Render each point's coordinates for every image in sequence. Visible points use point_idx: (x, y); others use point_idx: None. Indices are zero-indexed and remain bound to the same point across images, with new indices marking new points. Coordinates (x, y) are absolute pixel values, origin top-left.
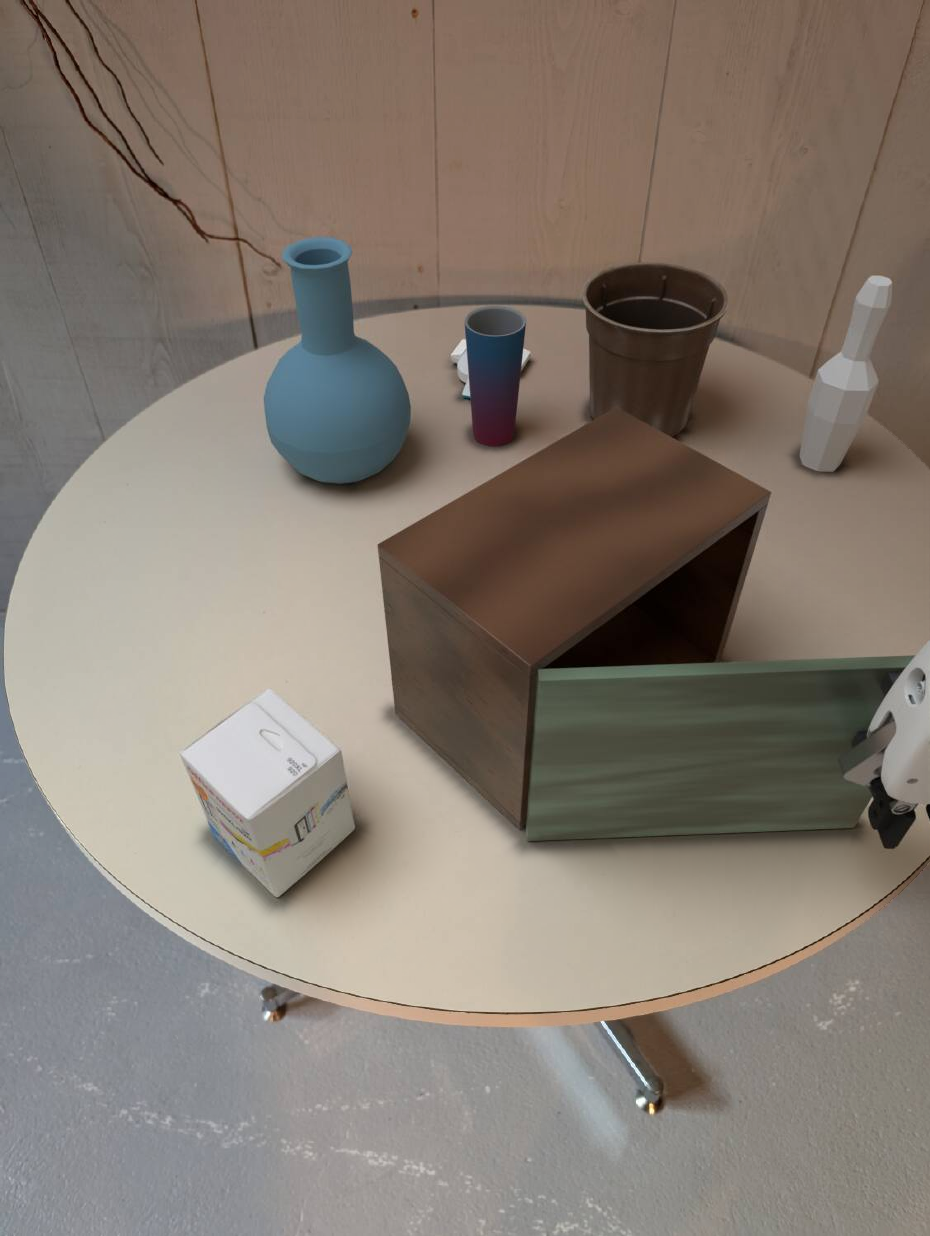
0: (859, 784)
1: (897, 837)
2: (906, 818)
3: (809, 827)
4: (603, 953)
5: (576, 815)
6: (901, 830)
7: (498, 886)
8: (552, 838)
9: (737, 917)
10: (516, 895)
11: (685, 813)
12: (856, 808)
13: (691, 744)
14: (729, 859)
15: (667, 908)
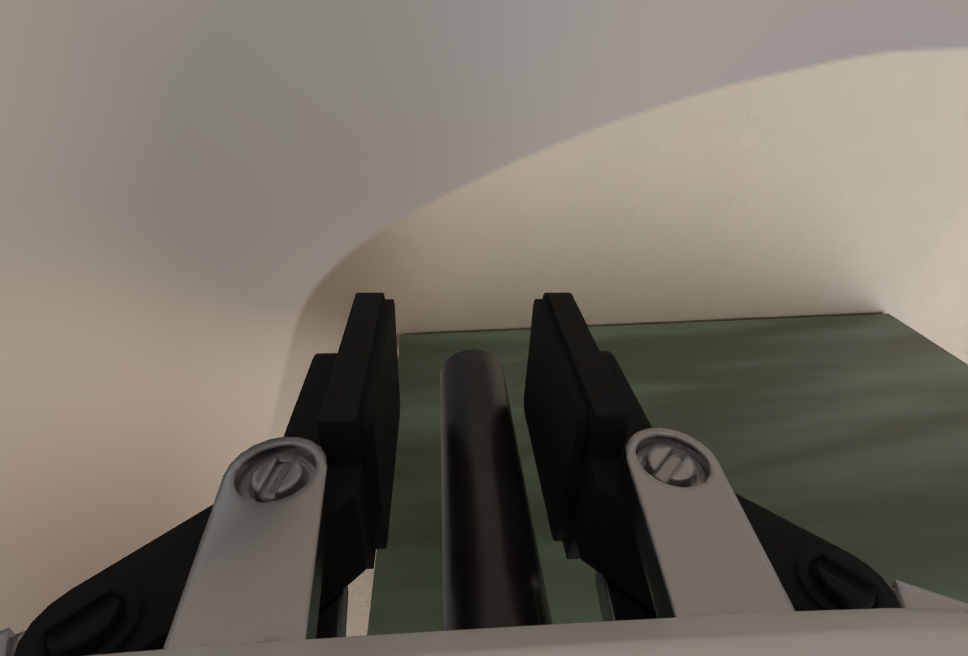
0: (938, 594)
1: (577, 329)
2: (629, 413)
3: (474, 335)
4: (870, 135)
5: (875, 353)
6: (591, 356)
7: (961, 247)
8: (857, 317)
9: (634, 192)
10: (944, 233)
11: (698, 358)
12: (412, 368)
13: (861, 521)
14: (608, 286)
15: (736, 209)
